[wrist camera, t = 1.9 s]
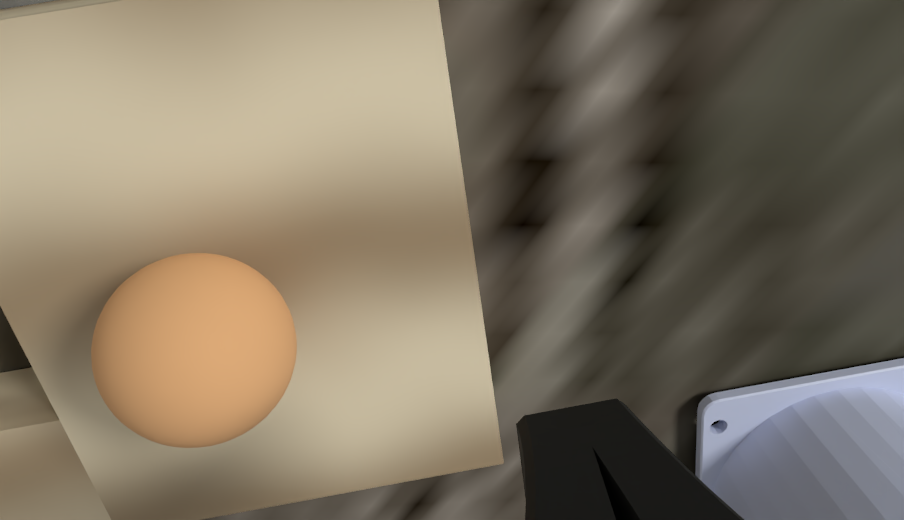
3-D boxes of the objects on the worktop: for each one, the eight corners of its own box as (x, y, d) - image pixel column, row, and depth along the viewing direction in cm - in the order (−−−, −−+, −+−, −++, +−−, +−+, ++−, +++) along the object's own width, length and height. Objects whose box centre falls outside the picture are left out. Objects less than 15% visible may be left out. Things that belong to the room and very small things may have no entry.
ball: (320, 354, 16) (309, 470, 13) (159, 383, 16) (106, 508, 12) (279, 208, 14) (255, 298, 11) (98, 238, 14) (20, 340, 11)
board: (488, 400, 20) (503, 463, 18) (-228, 531, 19) (-304, 613, 17) (421, -59, 14) (431, -50, 12) (-590, 105, 14) (-772, 145, 12)
